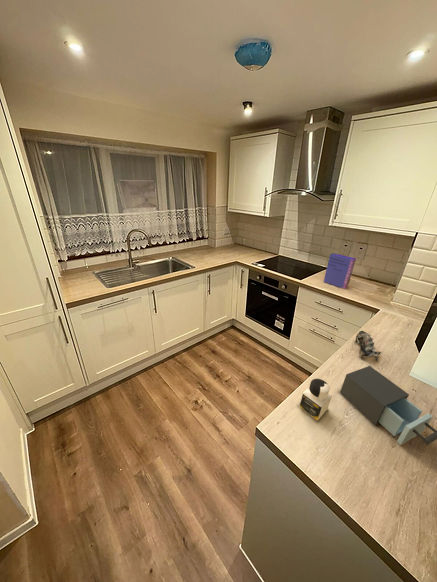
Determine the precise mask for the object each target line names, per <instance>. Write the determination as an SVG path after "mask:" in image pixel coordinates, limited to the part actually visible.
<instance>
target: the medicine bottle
mask: <svg viewBox="0 0 437 582" xmlns="http://www.w3.org/2000/svg"><path fill="white" fill-rule="evenodd" d="M330 389H331V388H330V385H329V384H328V383H327V382H326V381H325V380H324V379H322V378H313V379H311V381H310V384H309V387H308V388H306V390H304V391H303V393H302V395H301V399H300V403H299V408H300V409H302V410H303V411H304V412H305V413H306V414H307V415H309V416H311V418H313V419H314V420H316V421H319V420H320V418H321V417H322V416H323V415H324V414H325V413H327V411H328V409H329V406H330V403H331V400H332V394H331V393H329V392H330Z"/></svg>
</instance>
